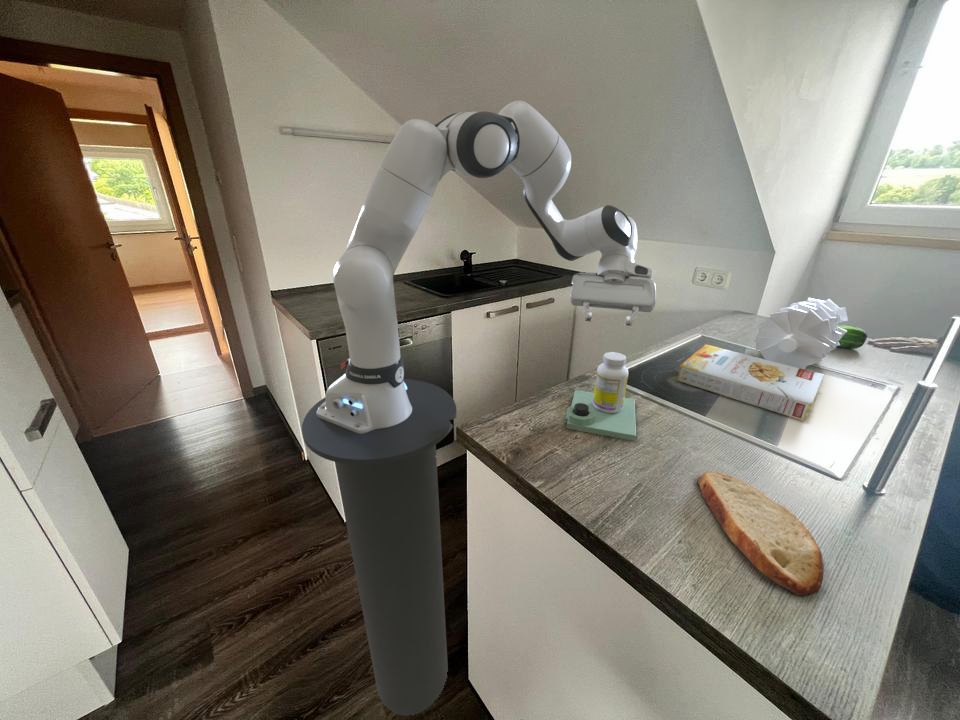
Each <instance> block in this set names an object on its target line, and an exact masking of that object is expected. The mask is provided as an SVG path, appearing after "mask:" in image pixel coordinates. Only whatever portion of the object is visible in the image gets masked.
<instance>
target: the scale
mask: <svg viewBox="0 0 960 720" xmlns="http://www.w3.org/2000/svg"><path fill="white" fill-rule="evenodd" d="M593 399H594V392H591V391H584V390H578V389H575V390H574V393H573V398H572V402H571V405H570V406H568V407H567V409H566V416H565V418H566V421H567V422H566V430H573V431H578V432H582V433H583V432H584V433H588V434H593V435H594V434H595V435H599V436H604V437H609V438H616V439H620V440H621V439H622V440H627V441H631V442H635V441H636V438H637V429H636V428H637V426H636V424H637V423H636V404H635V403H636V402H635V398H629V397H624V404H623V408H622V410H621V411H619V412H616V413H605V412H602V411H600V410H598V409H596V408H595V407H594V405H593ZM577 403H583V404H586V405H588V407H589V409H588V415H587V416H577V415H575V414H574V406H575V404H577Z"/></svg>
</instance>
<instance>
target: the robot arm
mask: <svg viewBox="0 0 960 720" xmlns="http://www.w3.org/2000/svg"><path fill="white" fill-rule="evenodd" d="M508 166H509V167H510V168H511V169H512V170H513V172H515V174H516V175H517V176H518V177H519V178H520V179H521V181H522V183H523V185H524V186H523V190H522V193H523V197H524V198H523V199H524V201H525V203H526V205H527V207H528V208H529V210H530V211H531V213H532V215H533V216H534V217H535V219H536V221H537V222H538V223H539V224H540V226H541V228H542V229H543V230H544V232H545V233H546V234H547V236H548V237H549V239H550V241H551V243H552V245H553V247H554V249H555V252H556V253H557V254H558V255H559V256H560V257H561V258H563V259H564V260H566V261H569V262H574V261H576V260H579V259H581V258H582V257H586V256H587V255H590V254H593V253H596V252H600V254H601V257H600V259H599V261H598V266H597V272H585V271H579V272H578V273H575V274H574V275H572V278H571V284H572V288H571V290H570V294H569V303H570V304H571V305H572V306H576V307H577V306H578V307H582V311H583V313H584V315H585V319H584V320H585V322H592V319H593V312H590V311H589V308H598V309H609V310H618V311H619V310H620V311H629V312H631V315H627V316H626V317H625V322H624V323H625V324H624V326H630V327H632V325H633V322H634V319H635V318H636V317H637V316H638V315H639V312H641V313H651V312H652V311H653V310H654V309H655V307H656V302H657V288H656V287H657V286H656V283H655V281H654V280H653V277H654V275H653V274H654V270H653V268H650V267H647V266H643V265H641V264H638V263H637V262H635V256H636V254H637V250H638V227H637V224H636V221H635V220H634V219H633V217H630V216H628V215H627V214H626V213H625V212H624V211H622V210H621V209H620V208H618V207H616V206H614V205H610V204H607V205H603V206H601V207H598V208H596V209H594V210H592V211H590V212H588V213H585V214H583V215H581V216H578V217H576V218H573V219H566V218H564V217H563V216H562V214H561V212H560V211H559V209H558V208H557V205H556V204H555V203H554V201H553V198H554V197H555V195H557V193H559V191H561V189H562V188H563V186H564V184H566V181H567V179H568V177H569V174H570V172H571V169H572V168H571V167H572V153H571V151H570V149H569V147H568V144H567V143H566V141H565V140H564V139H563V137H562V136H561V135H560V134H559V132H558V131H557V130H556V129H555V127H554V126H553V125H552V124H551V123H550V122H549V120H548V119H546V118H545V117H544V116H543V115H542V114H541V113H540V112H539V111H538V110H537V109H535V108H534V107H533V106H532V105H531V104H529V103H528V102H526V101H524V100H514V101H512V102H509V103H508V104H506V105H505V106H503V107H502V108H501V109H500V111H499V112H498V113H495V112H491V111H478V110H477V111H476V110H464V111H461V112H455V113H452V114H449V115H447V116H446V117H444V118H443V119H441V120H440V121H439V122H437V123H436V124H433V123H431V122H429V121H427V120H425V119H421V118H411V119H409V120H407V121H405V122H404V123H403V124H402V125H401V127H400V128H399V129H398V131H397V133H396V134H395V136H394V138H392V140H391V142H390V144H389V146H388V147H387V150H386V151H385V153H384V155H383V157H382V159H381V162H380V164H379V166H378V168H377V171H376V172H375V175H374V178H373V181H372V182H371V184H370V187H369V190H368V192H367V194H366V196H365V199H364V202H363V204H362V206H361V209H360V213H359V215H358V217H357V219H356V222H355V225H354V228H353V230H352V233H351V235H350V238H349V240H348V243H347V245H346V248H345V249H344V251H343V254H341V256H340V257H339V258H338V260H337V261H336V263H335V265H334V266H333V267H334V268H333V272H332V281H333V286H334V290H335V294H336V295H335V296H336V299H337V303H338V304H337V305H338V308H339V311H340V315H341V319H342V322H343V325H344V330H345V335H346V342H347V348H348V355H349V358H347V359H346V361H345V362H343V363H341V364H340V366H341V367H340V369H341V370H343V369H345V368H346V370H345V373H344V374H343V375H341V376H340V377H338V378H337V379H336V380H335V381H333V382H332V383H331V384H330V385H329V387H328V388H327V389H326V391H325V396H324V398H325V402H324V403H323V404H322V405H321V406H320V407H319V408H318V410H317V417H319V418H321V419H324V420H326V421H328V422H331V423H333V424H336V425H338V426H341V427H343V428H346V429H348V430H351V431H353V432H356V433H358V434H363V433H366V432H369V431H372V430H375V429H381V428H387V427H391V426H394V425H397V424H399V423H401V422H403V421H404V420H406V419H407V418H408V417H409V416H410V414H411V413H412V406H411V404H410V402H409V399H408V396H407V393H406V390H407V386H406V385H405V383H404V379H405V367H404V359H403V355H402V354H401V346H400V335H399V334H400V333H399V324H398V323H399V322H398V315H397V307H396V306H397V305H396V296H395V286H394V275H395V273H396V270H397V268H398V267H399V264H400V262H401V260H402V259H403V257H404V255H405V253H406V250H407V249H408V247H409V245H410V243H411V242H412V240H413V238H414V236H415V235H416V232H417V231H418V229H419V226H420V224H421V222H422V220H423V218H424V216H425V214H426V212H427V209H428V208H429V206H430V204H431V201H432V199H433V197H434V194H435V193H436V191H437V187H438V185H439V182H441V180H442V179H443V178H444V176H445V175H446V174H448V173H449V172H450V171H453V172H457V173H458V174H460V175H463V176H466V177H472V178H476V179H477V178H478V179H490V178H492V177H494V176H497V175H498V174H500V173H501V172H503V171H504V170H505V169H507V167H508Z"/></svg>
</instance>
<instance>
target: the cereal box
mask: <svg viewBox="0 0 960 720" xmlns="http://www.w3.org/2000/svg"><path fill="white" fill-rule="evenodd" d="M824 377H825V375H824V373H819V372H817V371H811V370H809V369H808V370H807V369H805V370H804V369H800V368H796V367H792V366H788V365H785V364H781V363H777V362H773V361H769V360H765V358H762V357H761V358H760V357H758V356H757V357H756V356H753V355H749V354H745V353H741V352H738V351H733V350H729V349H726V348H721V347H718V346H714V345H710V344H706V343H705V344H704V345H703V346H701V347H700V348H699V349H698V350H696V351H695V352H694V353H693V354H692V355H690V357H689V358H687V359H686V360H685V361H684V362H682V363H681V364H680V366H679V371H678V375H677V382H679V383H683V384H686V385H689V386H692V387H695V388H699V389H702V390H705V391H708V392H712V393H713V394H714V393H715V394H717V395H720V396H723V397H727V398H729V399H733V400H736V401H739V402H742V403H746V404H749V405H752V406H755V407H758V408H761V409H764V410H768V411H770V412H774V413H777V414H780V415H784V416H786V417H788V418H789V417H790V418H792V419H796V420H799V421H802V422H805V421H806V419H807V417H808V415H809V414H810V411H811V410H812V407H814V404H815V402H816V400H817V397H818V395H819V392H820V389H821V386H822V383H823V380H824Z"/></svg>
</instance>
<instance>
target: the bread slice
mask: <svg viewBox="0 0 960 720" xmlns="http://www.w3.org/2000/svg"><path fill="white" fill-rule="evenodd" d="M697 485H698V486H699V489H700V492H701V495H702V497H703V498H704V500H705V502H706V504H707V505H708V506H709V508H710V510H711V512H712V513H713V514H714V517H715V519H716V520H717V522H718V523H719V525H720V527H721V528H722V530H723V531H724V533H726V535H727V536H728V538H729V540H730V541H731V543H733V544H734V545H735V547H737V548H738V549H739V550H740V552H741V553H742V554H743V555H744V556H745V557H746V558H747V560H748V561H749V562H750V563H751V564H752V565H753V567H755V568H756V569H757V570H758V571H759V572H760V573H762V574H763V575H764V576H766V578H768V579H769V580H770V581H772V582H773V583H775V584H776V585H778V586H780V587H782V588H785V589H786V590H788V591H790V592H791V593H793V594H794V595H796V596H801V597H802V596H807V595H809V594H814V593H816V592H818V591H819V590H820V588H821V587H822V584H823V580H824V573H825V572H824V571H825V565H824V564H825V563H824V558H823V553H822V551H821V549H820V546H819V545H818V543H817V541H816V539H815V538H814V537H813V535H812V533H811V531H810V530H809V529H808V528H807V527H806V526H805V524H804V523H803V522H801V521H800V520H799V519H798V518H797V517H796V516H795V514H794V513H792V512H791V511H790V510H788V509H787V508H786V507H785V506H783V505H781V504H780V503H777V502H776V501H774V500H773V499H772V498H770V497H769V496H767V494H765V493H764V492H762V491H760V490H759V489H757V488H756V487H755V486H752V485H751V484H749V483H746V482H745V481H742V480H740V479H739V478H737V477H733V476H731V475H730V474H729V475H728V474H724V473H721V472H715V471H706V472H705V473H703V475H702V476H700V477H699V478H698V479H697Z"/></svg>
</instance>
